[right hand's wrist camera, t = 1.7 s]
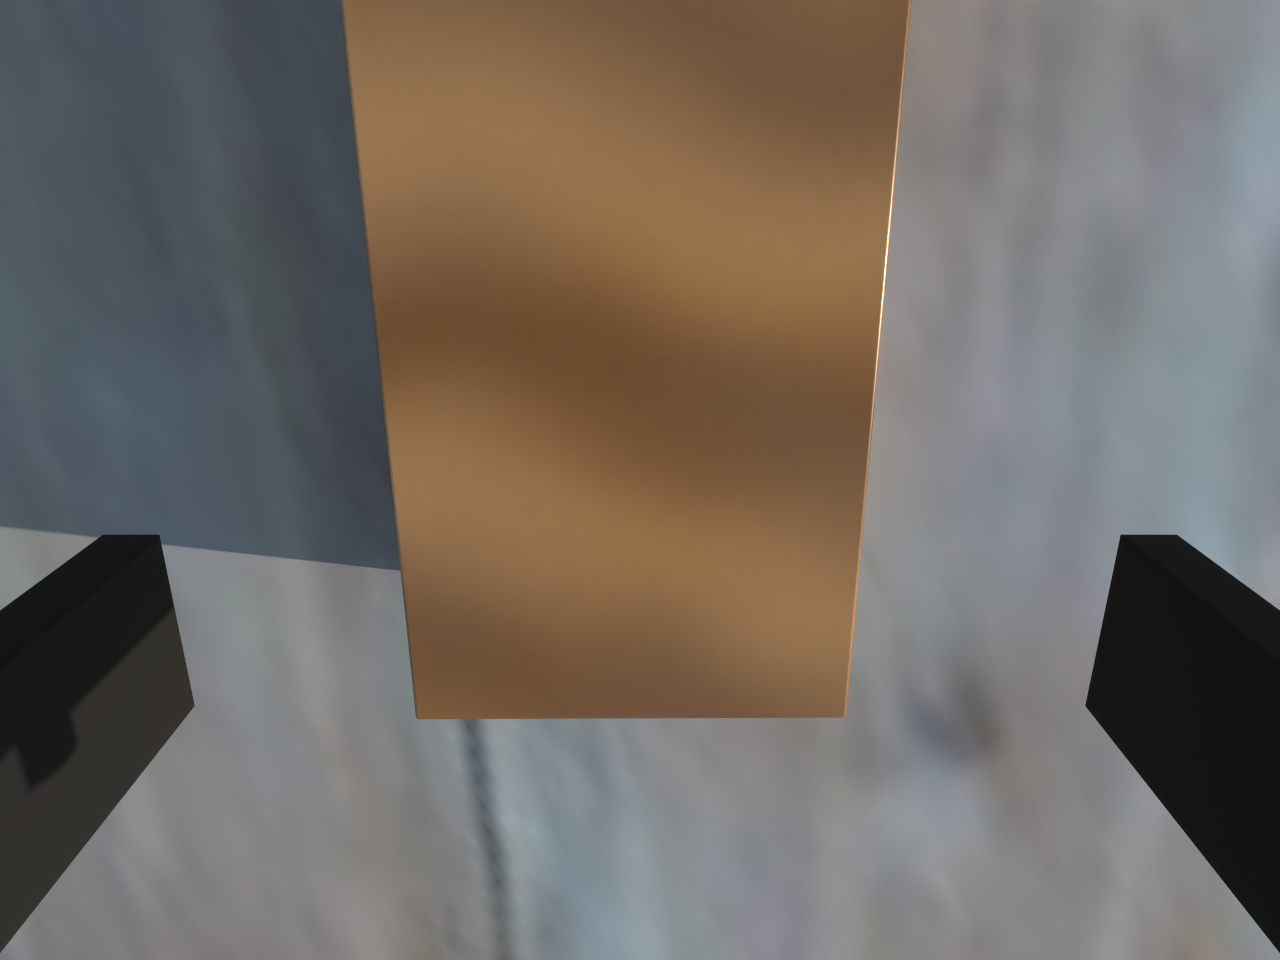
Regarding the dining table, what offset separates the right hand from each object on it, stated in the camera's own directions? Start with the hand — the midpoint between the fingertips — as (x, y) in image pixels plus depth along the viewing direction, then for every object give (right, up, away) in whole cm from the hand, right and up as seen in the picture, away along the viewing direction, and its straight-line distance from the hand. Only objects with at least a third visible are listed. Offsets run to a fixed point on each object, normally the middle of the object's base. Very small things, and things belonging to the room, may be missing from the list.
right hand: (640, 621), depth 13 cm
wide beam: (0, +34, +2) cm, 34 cm away
